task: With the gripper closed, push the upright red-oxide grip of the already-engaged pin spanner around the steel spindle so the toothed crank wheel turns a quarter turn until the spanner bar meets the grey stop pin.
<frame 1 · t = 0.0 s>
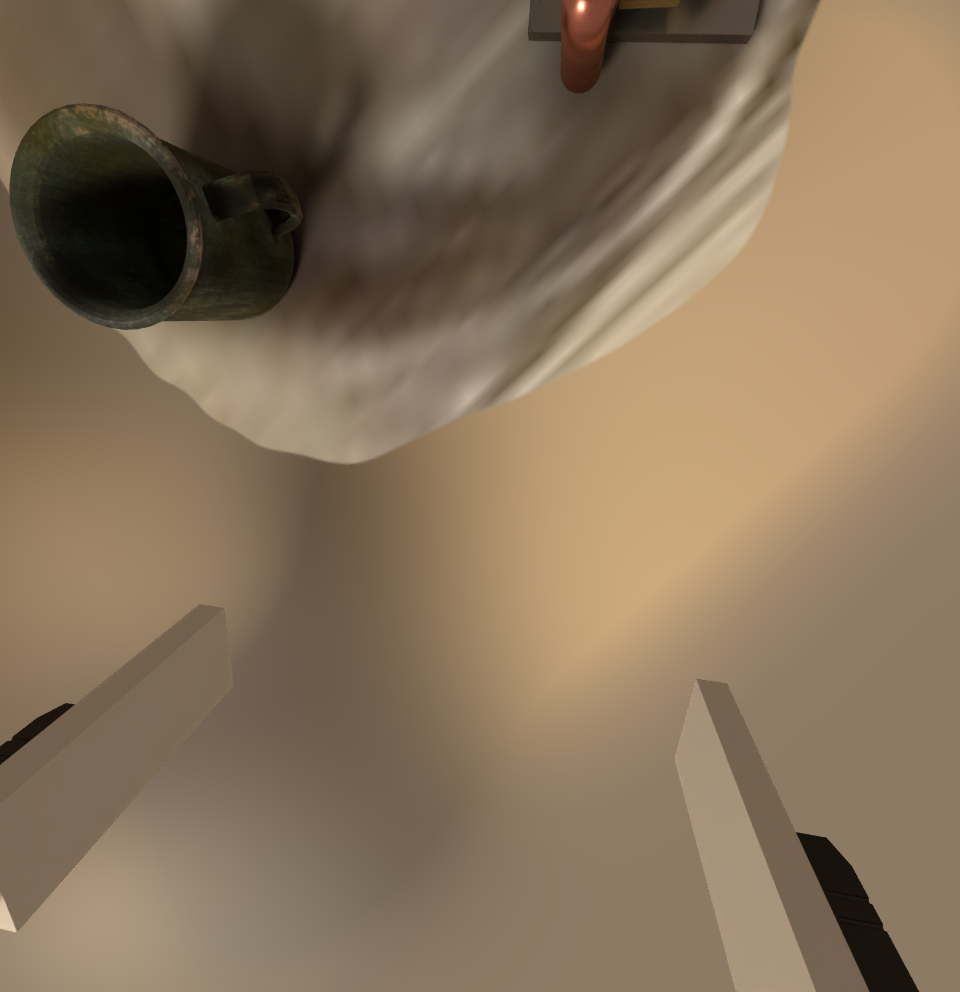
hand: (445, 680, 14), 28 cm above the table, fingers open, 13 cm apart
mug: (254, 244, 38), on the table
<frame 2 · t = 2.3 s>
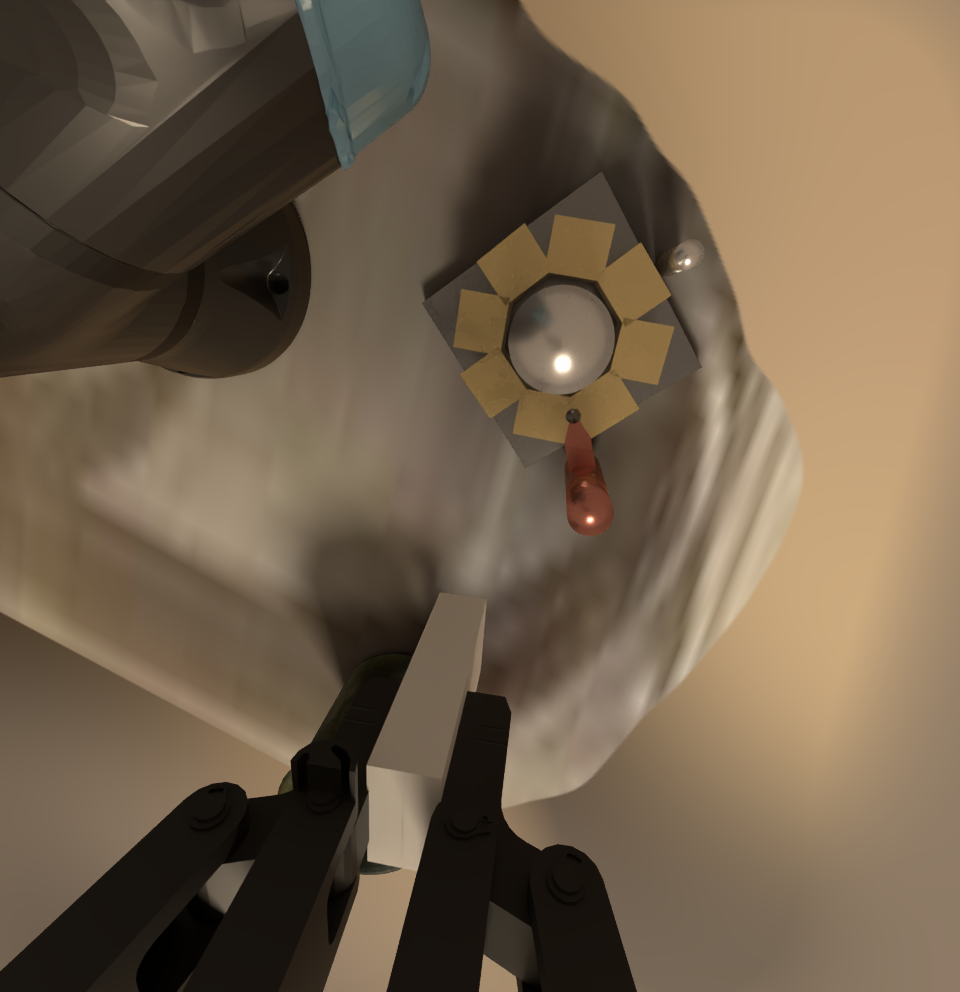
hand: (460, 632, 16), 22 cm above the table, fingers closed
mug: (412, 684, 45), on the table
spindle base: (559, 334, 33), on the table
toothed crank wheel: (566, 374, 28), point 6 cm above the table, hinge at 0.0°
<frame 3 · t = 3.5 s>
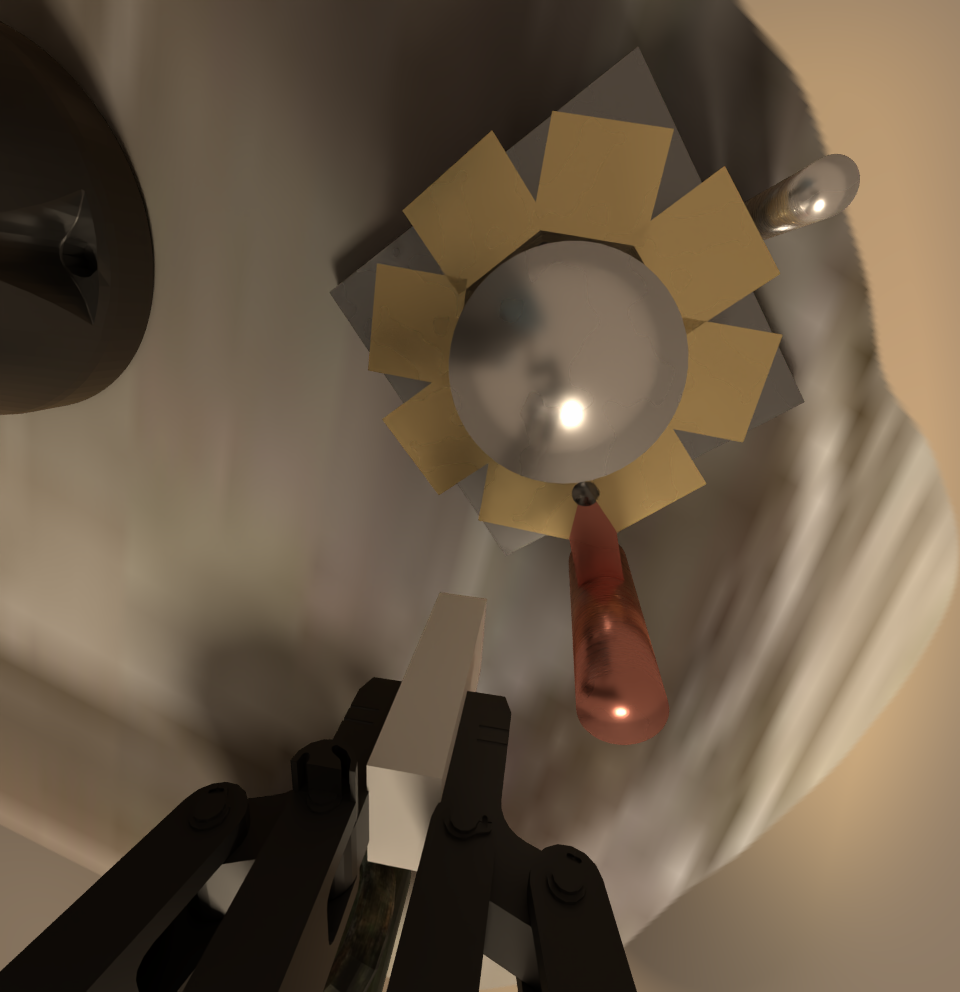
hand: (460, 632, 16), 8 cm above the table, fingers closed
mug: (352, 835, 32), on the table
spindle base: (560, 344, 20), on the table
toothed crank wheel: (573, 423, 15), point 6 cm above the table, hinge at 0.0°
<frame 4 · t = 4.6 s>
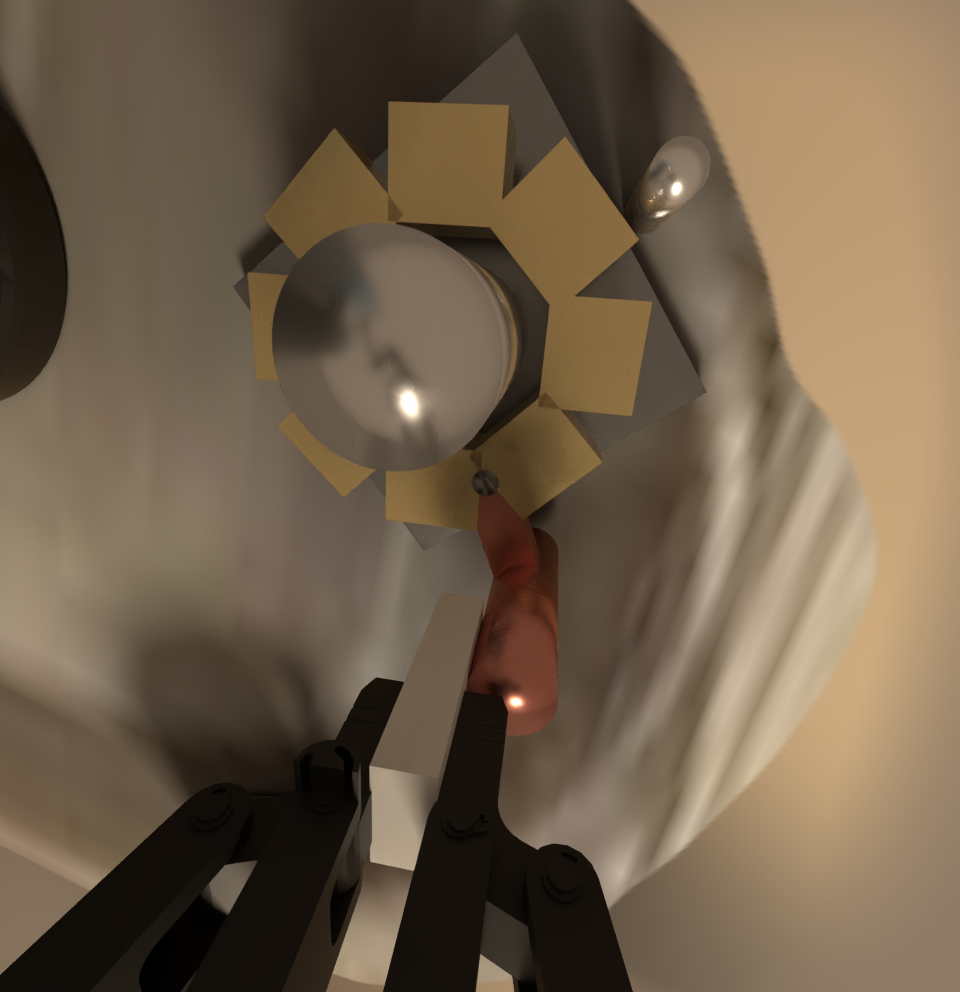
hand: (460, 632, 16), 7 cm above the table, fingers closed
spindle base: (466, 336, 20), on the table
toothed crank wheel: (455, 412, 15), point 6 cm above the table, hinge at 4.9°, touching gripper
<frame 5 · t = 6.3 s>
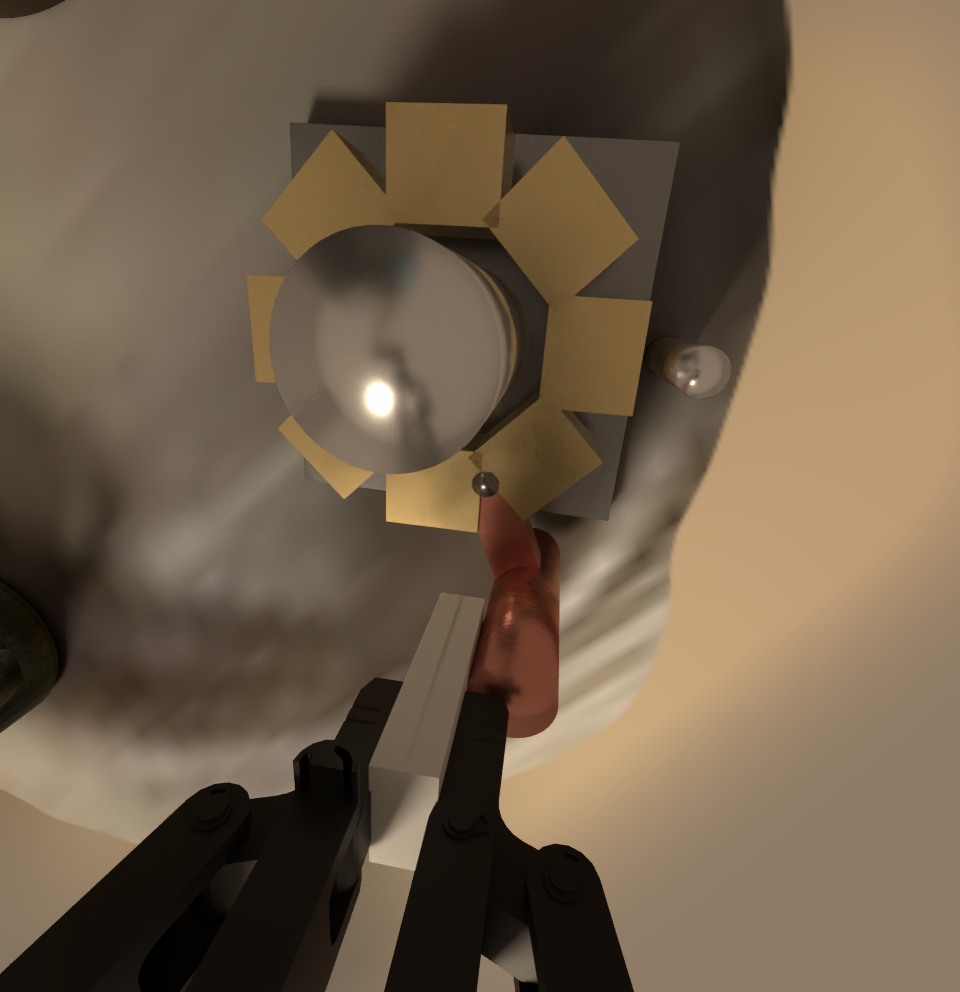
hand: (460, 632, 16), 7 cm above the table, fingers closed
mug: (11, 630, 30), on the table
spindle base: (466, 336, 20), on the table
toothed crank wheel: (454, 413, 15), point 6 cm above the table, hinge at 43.6°, touching gripper
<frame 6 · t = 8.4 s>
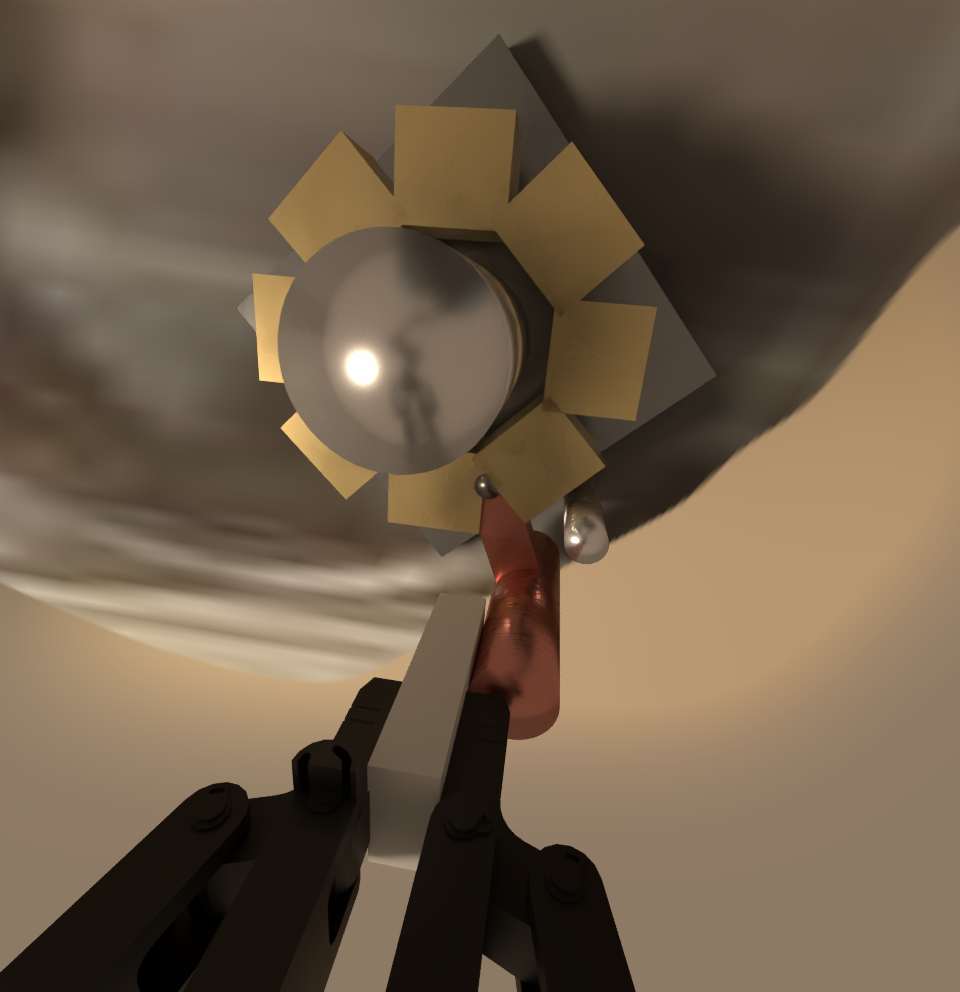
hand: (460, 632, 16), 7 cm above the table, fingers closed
spindle base: (470, 339, 20), on the table
toothed crank wheel: (458, 415, 15), point 6 cm above the table, hinge at 90.0°, touching gripper
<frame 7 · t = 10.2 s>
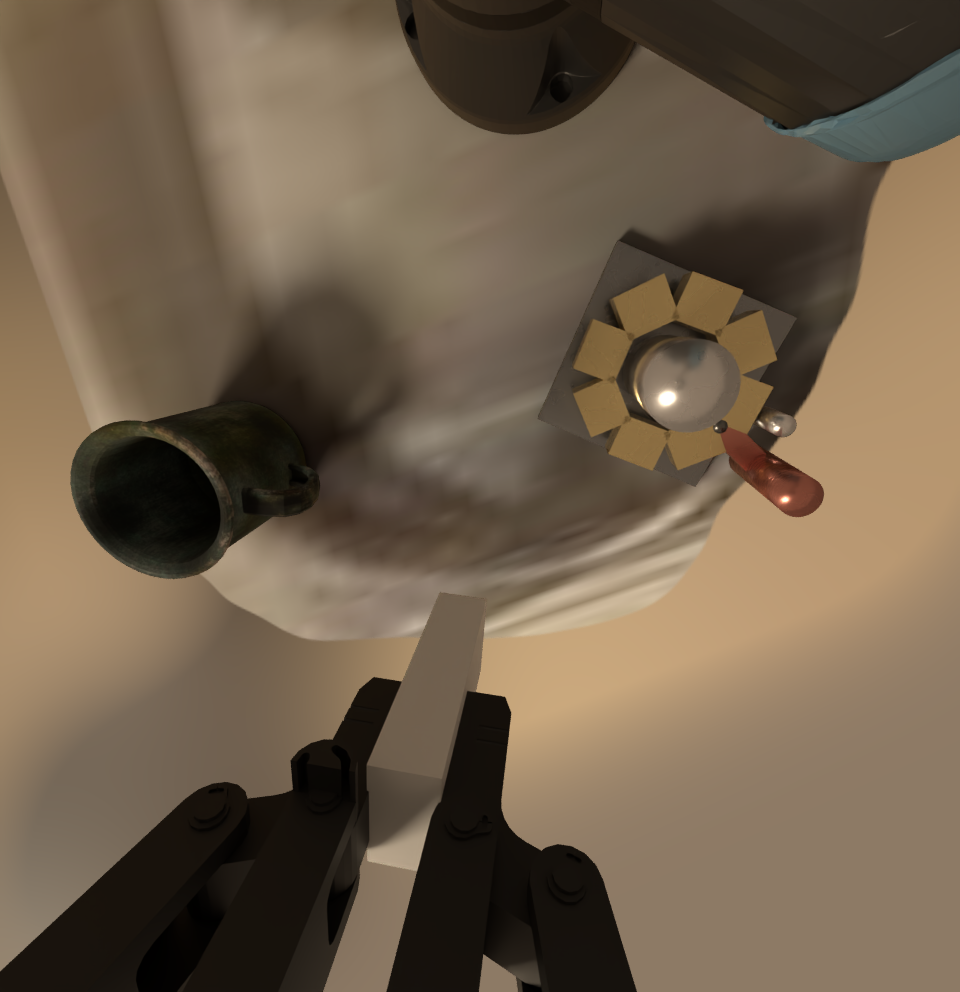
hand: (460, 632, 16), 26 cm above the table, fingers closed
mug: (272, 458, 44), on the table
spindle base: (656, 370, 37), on the table
toothed crank wheel: (696, 401, 32), point 6 cm above the table, hinge at 90.0°
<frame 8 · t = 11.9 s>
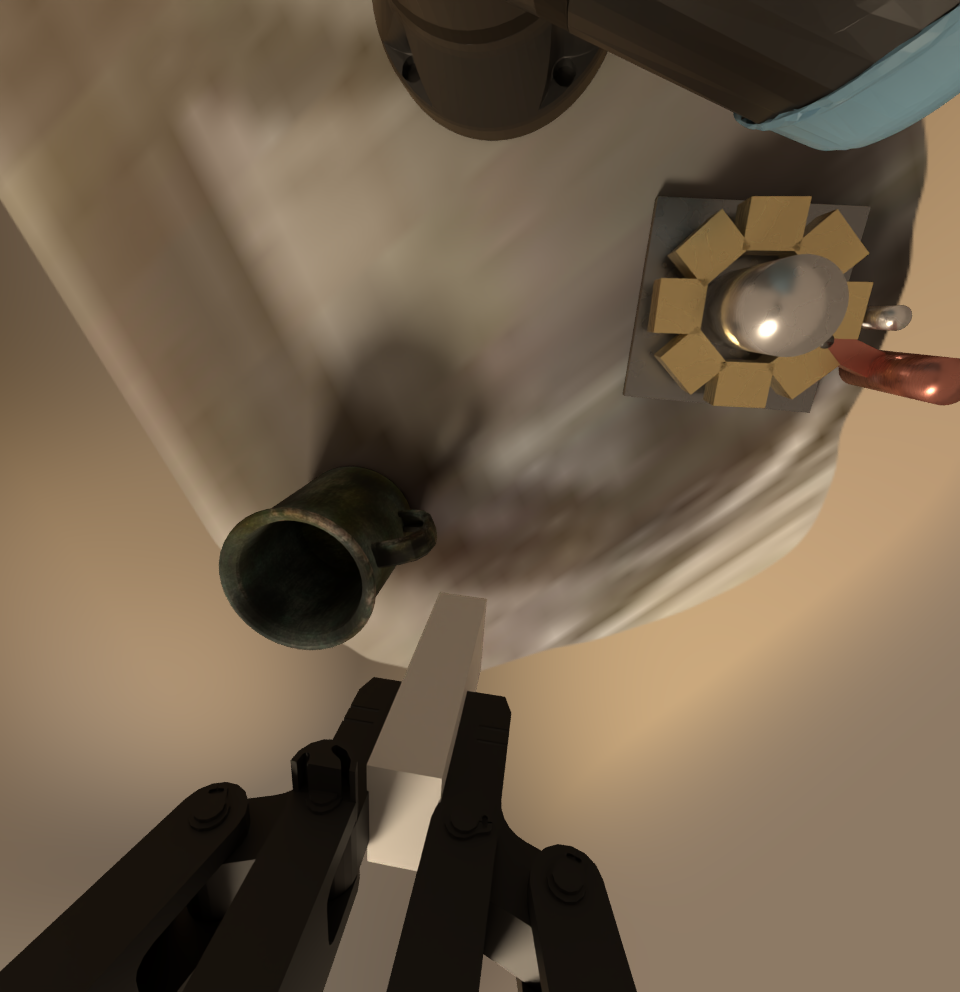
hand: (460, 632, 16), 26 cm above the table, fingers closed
mug: (377, 513, 45), on the table
spindle base: (732, 309, 35), on the table
toothed crank wheel: (793, 323, 30), point 6 cm above the table, hinge at 90.0°
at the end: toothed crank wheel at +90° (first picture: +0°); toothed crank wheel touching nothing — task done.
